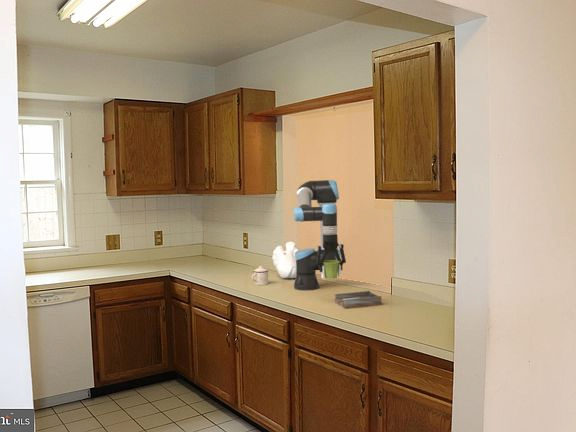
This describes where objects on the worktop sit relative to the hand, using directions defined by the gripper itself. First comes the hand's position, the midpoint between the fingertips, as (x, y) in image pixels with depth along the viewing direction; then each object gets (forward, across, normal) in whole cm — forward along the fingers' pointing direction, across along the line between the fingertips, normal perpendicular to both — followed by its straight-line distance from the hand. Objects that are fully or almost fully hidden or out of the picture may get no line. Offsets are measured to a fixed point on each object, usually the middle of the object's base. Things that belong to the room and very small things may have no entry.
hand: (331, 277), depth 278 cm
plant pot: (0, 0, 0) cm, 1 cm away
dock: (+15, +14, 0) cm, 21 cm away
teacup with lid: (+16, -23, +71) cm, 77 cm away
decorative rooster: (+16, -1, +87) cm, 88 cm away
